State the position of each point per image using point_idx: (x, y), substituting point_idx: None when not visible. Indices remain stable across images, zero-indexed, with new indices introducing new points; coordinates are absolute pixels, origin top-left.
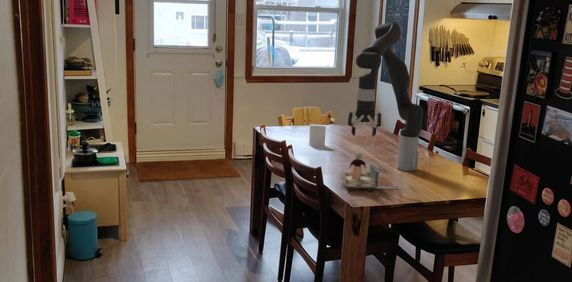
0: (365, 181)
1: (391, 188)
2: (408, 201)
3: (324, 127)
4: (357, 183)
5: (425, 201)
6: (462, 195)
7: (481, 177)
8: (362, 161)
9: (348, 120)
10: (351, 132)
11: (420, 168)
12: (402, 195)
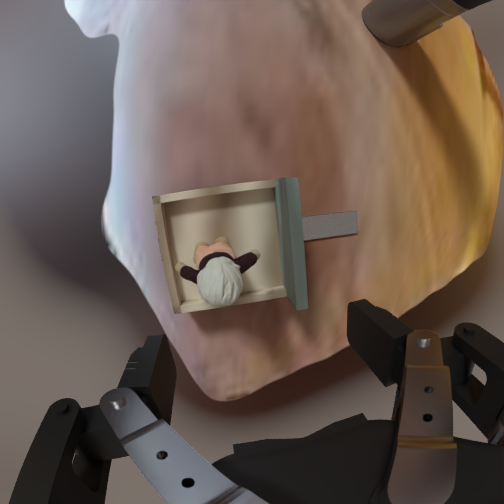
0: (248, 301)
1: (336, 235)
2: None
3: None
4: None
5: None
6: (468, 248)
7: (501, 114)
8: (241, 273)
9: (46, 448)
10: (132, 362)
11: None
12: (354, 289)
